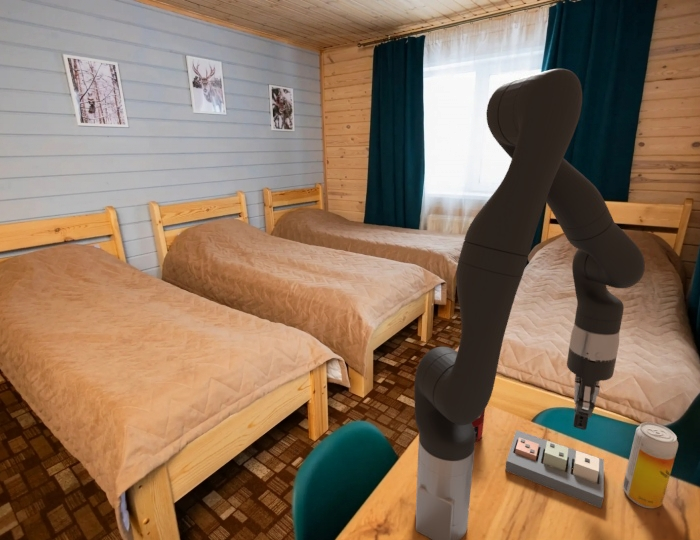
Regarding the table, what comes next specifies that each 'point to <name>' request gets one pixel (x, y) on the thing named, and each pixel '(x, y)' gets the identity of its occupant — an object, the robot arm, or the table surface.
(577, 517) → the table surface
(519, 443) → the tile three terracotta
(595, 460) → the tile one cream
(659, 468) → the beer can
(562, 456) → the tile two sage
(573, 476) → the slate board
